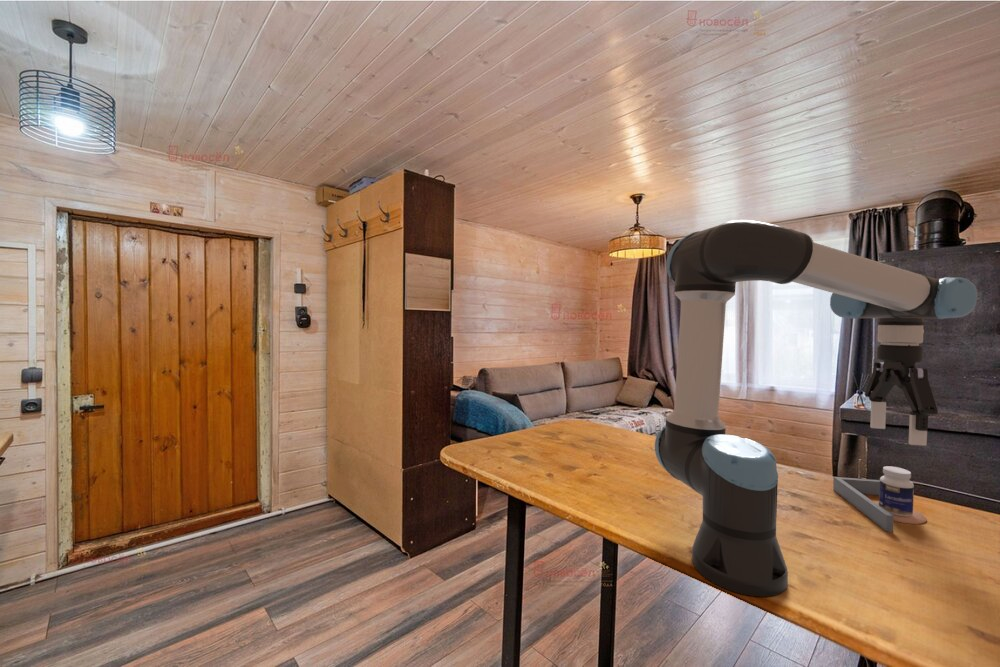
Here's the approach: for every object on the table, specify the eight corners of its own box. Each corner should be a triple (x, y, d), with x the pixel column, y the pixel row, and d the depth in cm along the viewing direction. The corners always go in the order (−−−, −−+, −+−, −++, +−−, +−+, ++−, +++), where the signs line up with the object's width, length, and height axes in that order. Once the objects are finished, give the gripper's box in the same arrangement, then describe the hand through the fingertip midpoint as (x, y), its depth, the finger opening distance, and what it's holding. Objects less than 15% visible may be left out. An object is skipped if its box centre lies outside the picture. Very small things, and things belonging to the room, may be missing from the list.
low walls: (945, 537, 85) (946, 520, 85) (886, 531, 88) (886, 515, 88) (879, 493, 106) (880, 480, 106) (833, 489, 109) (833, 476, 109)
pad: (938, 526, 90) (938, 524, 90) (883, 521, 92) (883, 519, 92) (906, 505, 99) (906, 504, 99) (857, 501, 102) (857, 500, 102)
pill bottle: (883, 514, 94) (884, 471, 94) (875, 504, 99) (876, 463, 99) (917, 519, 92) (918, 475, 91) (906, 509, 97) (908, 467, 96)
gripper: (965, 348, 81) (961, 454, 82) (884, 341, 105) (881, 423, 106) (919, 347, 83) (914, 451, 84) (849, 340, 107) (846, 421, 108)
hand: (896, 436), depth 95 cm, fingers open, 13 cm apart
